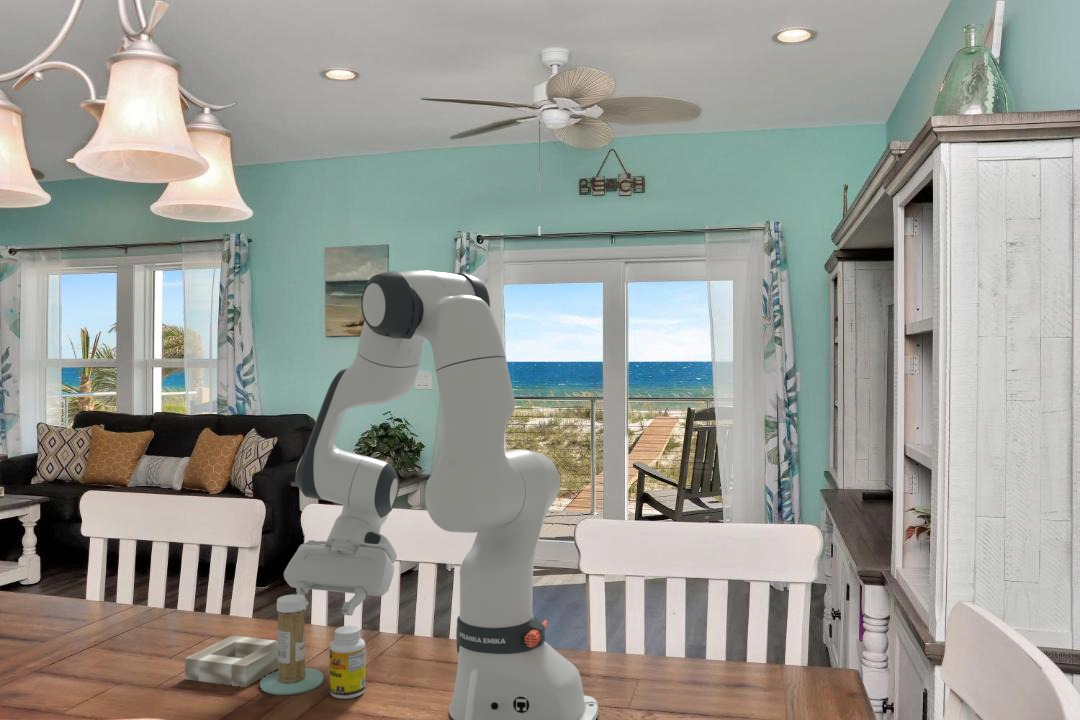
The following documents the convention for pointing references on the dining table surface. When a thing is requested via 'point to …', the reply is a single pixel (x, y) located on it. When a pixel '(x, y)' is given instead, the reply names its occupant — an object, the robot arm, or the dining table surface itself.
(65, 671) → the dining table surface
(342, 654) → the supplement bottle
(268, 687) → the coaster
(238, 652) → the bore block
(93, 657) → the dining table surface
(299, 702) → the dining table surface
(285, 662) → the sprinkles bottle
